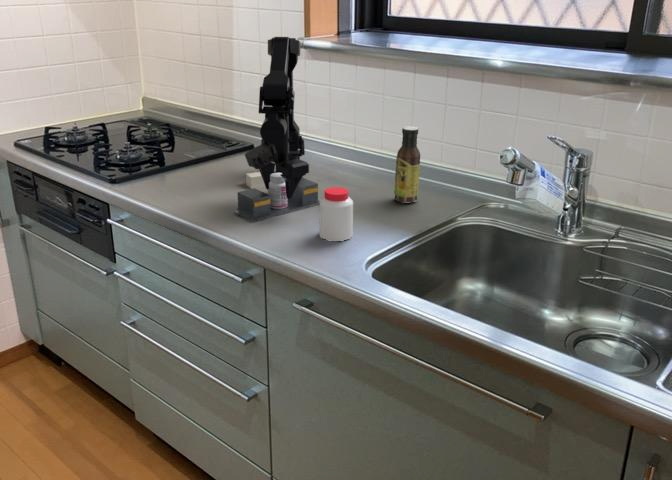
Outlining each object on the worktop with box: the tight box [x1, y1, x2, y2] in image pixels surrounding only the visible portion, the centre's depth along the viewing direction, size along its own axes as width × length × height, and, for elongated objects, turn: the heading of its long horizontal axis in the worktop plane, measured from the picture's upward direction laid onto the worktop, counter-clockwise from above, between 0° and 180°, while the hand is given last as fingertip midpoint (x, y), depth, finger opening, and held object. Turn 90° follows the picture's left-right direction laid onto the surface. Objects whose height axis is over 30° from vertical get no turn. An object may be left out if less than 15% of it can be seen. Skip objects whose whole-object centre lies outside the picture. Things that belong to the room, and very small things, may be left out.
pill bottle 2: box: [319, 186, 354, 241], centre depth 155 cm, size 8×8×11 cm
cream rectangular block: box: [245, 171, 266, 189], centre depth 190 cm, size 5×4×4 cm
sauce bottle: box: [393, 125, 421, 203], centre depth 176 cm, size 6×6×20 cm
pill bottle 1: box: [269, 173, 288, 209], centre depth 172 cm, size 5×5×8 cm
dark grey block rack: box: [233, 176, 321, 224], centre depth 172 cm, size 22×8×6 cm, turn 130°
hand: (278, 193), depth 172 cm, fingers open, 9 cm apart
